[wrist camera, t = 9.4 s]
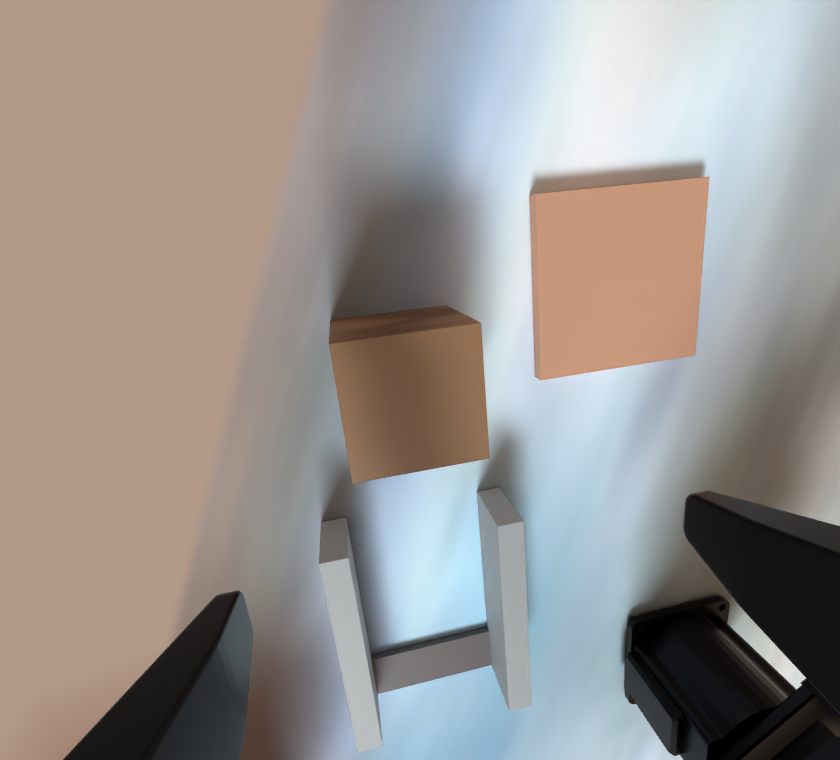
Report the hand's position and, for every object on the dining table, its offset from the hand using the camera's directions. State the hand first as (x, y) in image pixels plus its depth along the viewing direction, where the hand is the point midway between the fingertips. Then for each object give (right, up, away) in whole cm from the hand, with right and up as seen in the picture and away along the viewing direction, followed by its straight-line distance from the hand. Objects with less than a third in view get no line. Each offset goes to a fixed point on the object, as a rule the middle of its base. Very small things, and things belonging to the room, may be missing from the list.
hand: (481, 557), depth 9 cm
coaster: (+8, +8, +12) cm, 16 cm away
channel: (-1, -8, +15) cm, 17 cm away
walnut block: (-2, +4, +11) cm, 12 cm away
